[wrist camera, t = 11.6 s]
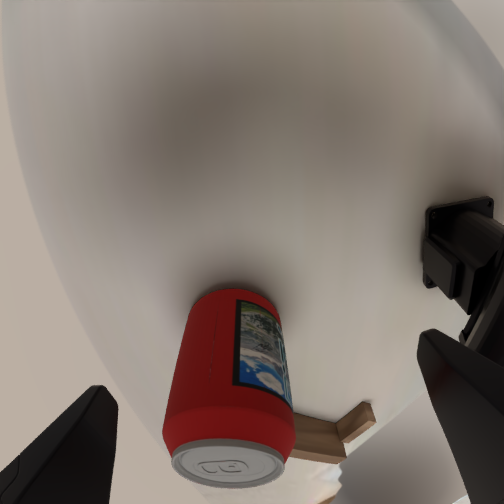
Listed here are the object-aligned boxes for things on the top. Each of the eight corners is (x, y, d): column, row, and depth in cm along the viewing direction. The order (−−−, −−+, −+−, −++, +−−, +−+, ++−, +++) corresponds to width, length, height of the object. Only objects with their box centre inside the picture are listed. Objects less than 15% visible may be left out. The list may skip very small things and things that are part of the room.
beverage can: (287, 345, 24) (306, 485, 13) (205, 359, 25) (188, 493, 14) (270, 272, 21) (288, 428, 10) (175, 292, 22) (130, 439, 11)
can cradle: (269, 370, 25) (273, 413, 21) (370, 403, 28) (381, 438, 24) (236, 405, 27) (235, 444, 23) (334, 432, 30) (341, 464, 26)
